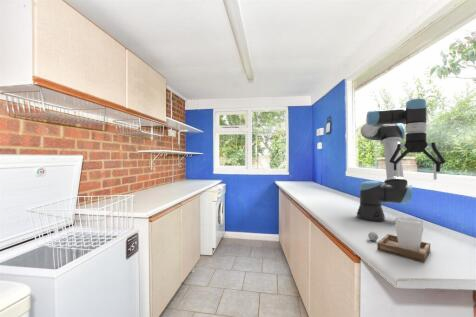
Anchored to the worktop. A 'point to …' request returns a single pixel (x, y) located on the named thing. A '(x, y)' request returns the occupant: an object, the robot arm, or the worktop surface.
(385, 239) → the tray
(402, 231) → the cup
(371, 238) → the ball
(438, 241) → the worktop surface
